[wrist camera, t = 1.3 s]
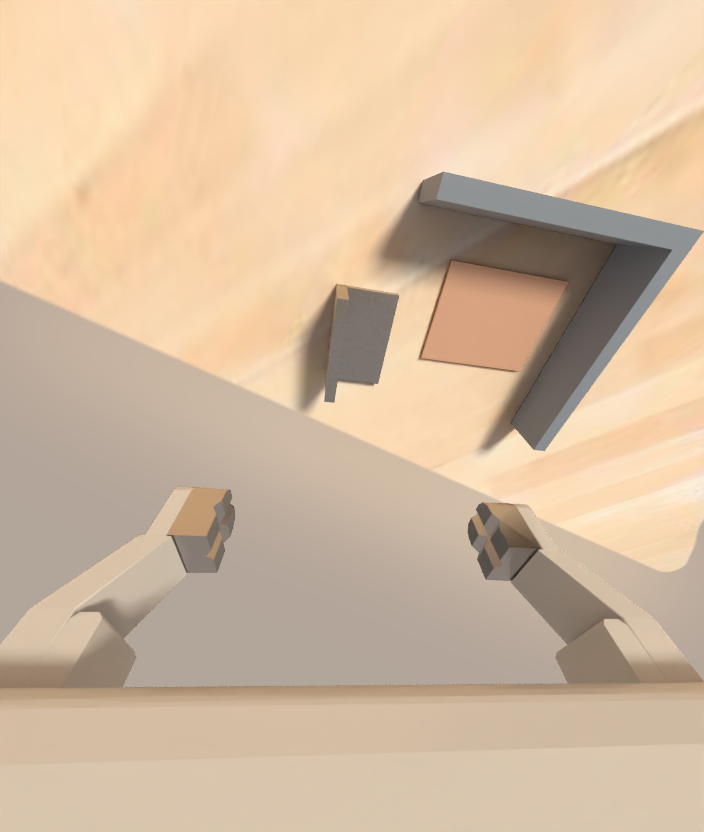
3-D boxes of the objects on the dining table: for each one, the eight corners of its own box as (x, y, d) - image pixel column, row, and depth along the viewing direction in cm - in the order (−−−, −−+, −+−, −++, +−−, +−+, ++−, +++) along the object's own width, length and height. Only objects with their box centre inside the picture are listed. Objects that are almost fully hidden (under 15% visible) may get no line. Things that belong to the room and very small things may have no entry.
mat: (420, 356, 26) (421, 358, 26) (451, 260, 22) (452, 260, 22) (518, 369, 28) (520, 371, 27) (566, 281, 23) (568, 281, 23)
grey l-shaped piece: (369, 407, 29) (374, 434, 26) (422, 180, 19) (443, 171, 15) (520, 424, 32) (544, 450, 28) (641, 228, 21) (704, 231, 18)
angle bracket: (377, 379, 28) (384, 408, 24) (325, 373, 27) (324, 401, 23) (397, 293, 23) (410, 309, 19) (336, 283, 22) (337, 298, 18)
